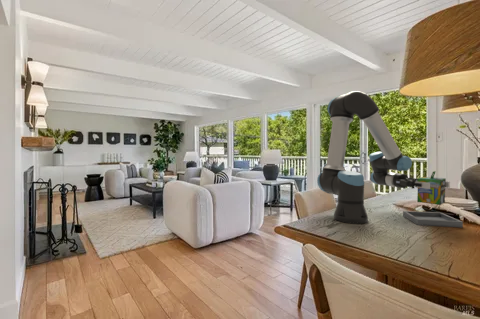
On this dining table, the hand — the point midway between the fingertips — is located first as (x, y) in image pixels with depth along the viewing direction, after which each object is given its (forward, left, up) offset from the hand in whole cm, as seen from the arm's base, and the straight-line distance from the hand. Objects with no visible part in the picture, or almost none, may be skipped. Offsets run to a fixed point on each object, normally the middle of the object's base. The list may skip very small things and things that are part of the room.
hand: (439, 185), depth 113 cm
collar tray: (-2, +3, -17) cm, 18 cm away
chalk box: (-2, +3, -9) cm, 10 cm away
